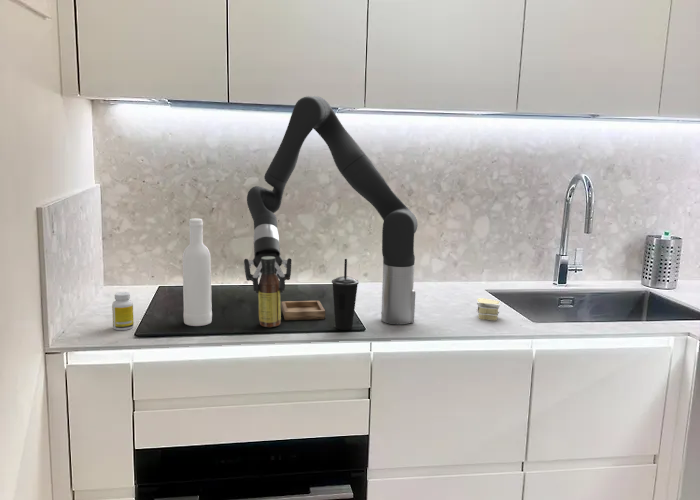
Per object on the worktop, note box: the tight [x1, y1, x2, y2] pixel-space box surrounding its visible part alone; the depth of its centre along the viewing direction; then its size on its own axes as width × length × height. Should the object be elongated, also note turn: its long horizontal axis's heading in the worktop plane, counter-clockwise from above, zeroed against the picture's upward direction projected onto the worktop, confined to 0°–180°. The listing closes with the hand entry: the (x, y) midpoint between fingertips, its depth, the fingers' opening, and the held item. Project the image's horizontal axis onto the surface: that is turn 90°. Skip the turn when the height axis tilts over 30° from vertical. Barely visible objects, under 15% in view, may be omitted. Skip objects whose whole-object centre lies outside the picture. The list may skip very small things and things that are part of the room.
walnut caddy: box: [280, 300, 326, 321], centre depth 191 cm, size 12×12×2 cm
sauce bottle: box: [257, 256, 282, 328], centre depth 178 cm, size 7×6×20 cm
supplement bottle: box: [111, 291, 135, 331], centre depth 173 cm, size 5×5×10 cm
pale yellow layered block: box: [476, 297, 501, 321], centre depth 192 cm, size 10×9×6 cm
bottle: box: [182, 217, 213, 327], centre depth 178 cm, size 8×8×30 cm
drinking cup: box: [331, 258, 360, 331], centre depth 177 cm, size 8×8×20 cm
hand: (269, 291), depth 176 cm, fingers closed on sauce bottle, 6 cm apart
